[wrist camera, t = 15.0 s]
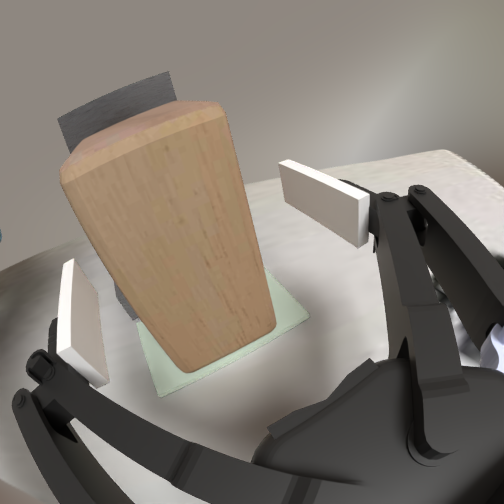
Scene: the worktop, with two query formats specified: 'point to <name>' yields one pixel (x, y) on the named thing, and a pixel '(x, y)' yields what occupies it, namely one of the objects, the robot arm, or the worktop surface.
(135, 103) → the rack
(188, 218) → the wooden block
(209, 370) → the mat
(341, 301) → the worktop surface
